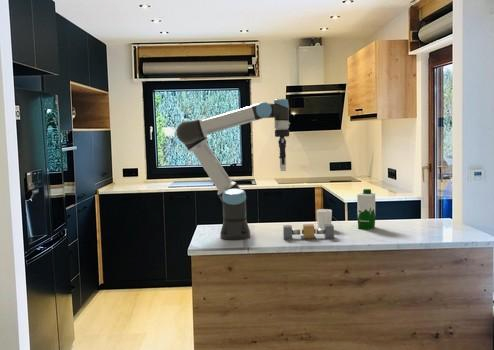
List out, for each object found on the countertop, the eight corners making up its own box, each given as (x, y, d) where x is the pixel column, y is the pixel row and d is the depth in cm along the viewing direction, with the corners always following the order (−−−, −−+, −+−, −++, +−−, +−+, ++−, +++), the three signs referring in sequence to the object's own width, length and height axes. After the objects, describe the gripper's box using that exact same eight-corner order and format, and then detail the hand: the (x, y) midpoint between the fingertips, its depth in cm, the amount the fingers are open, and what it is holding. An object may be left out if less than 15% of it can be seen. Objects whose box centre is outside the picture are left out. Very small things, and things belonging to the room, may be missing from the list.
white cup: (331, 230, 249) (331, 211, 248) (316, 230, 250) (316, 211, 249) (332, 227, 256) (332, 209, 255) (317, 227, 258) (317, 209, 257)
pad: (301, 239, 232) (301, 239, 232) (300, 236, 239) (300, 235, 239) (316, 239, 231) (316, 238, 231) (314, 236, 238) (314, 235, 238)
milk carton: (376, 226, 255) (376, 189, 253) (372, 230, 247) (372, 191, 245) (360, 225, 259) (360, 188, 257) (355, 229, 251) (355, 191, 249)
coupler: (302, 238, 233) (302, 226, 232) (301, 236, 237) (301, 224, 237) (316, 238, 232) (315, 226, 232) (315, 236, 237) (314, 224, 236)
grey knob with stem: (317, 238, 232) (316, 226, 232) (316, 236, 237) (315, 224, 237) (333, 238, 232) (333, 226, 231) (332, 236, 237) (332, 224, 236)
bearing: (283, 239, 233) (283, 227, 232) (283, 237, 238) (283, 225, 237) (300, 239, 233) (300, 227, 232) (299, 236, 238) (299, 224, 237)
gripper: (290, 129, 238) (291, 171, 240) (288, 128, 263) (289, 167, 265) (275, 129, 239) (276, 172, 241) (274, 129, 263) (275, 167, 266)
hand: (282, 169), depth 253 cm, fingers open, 13 cm apart
